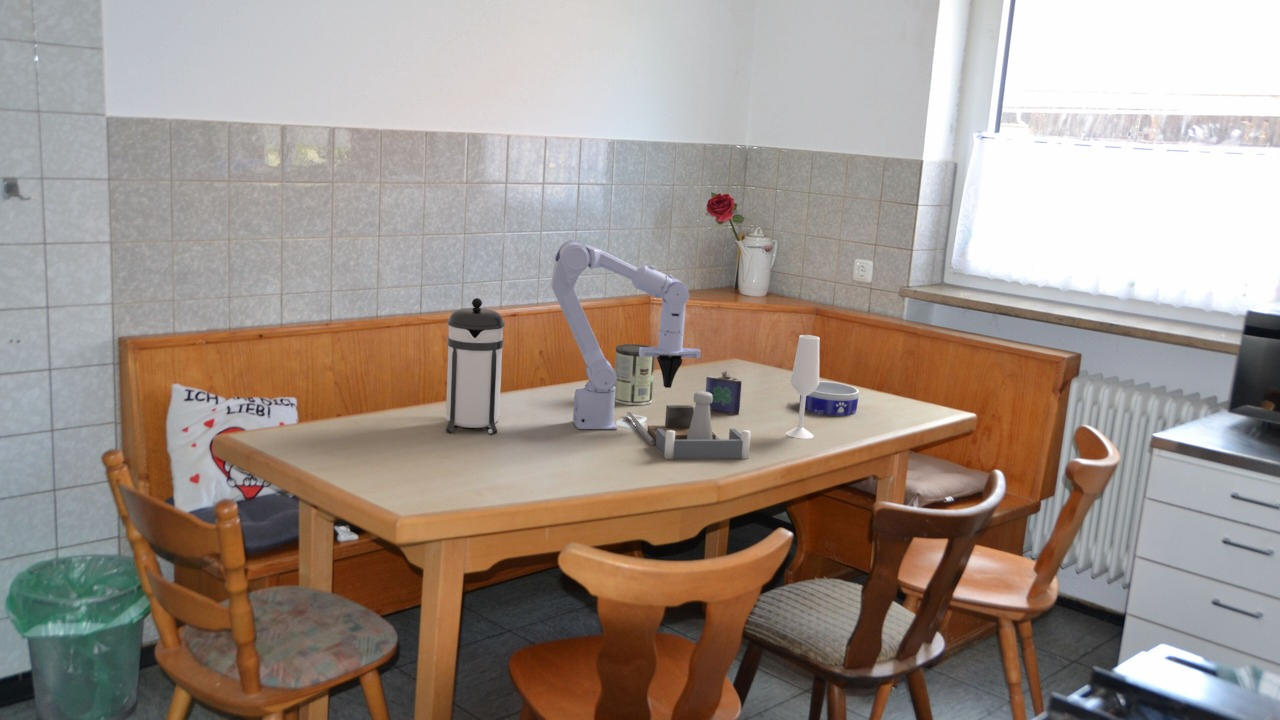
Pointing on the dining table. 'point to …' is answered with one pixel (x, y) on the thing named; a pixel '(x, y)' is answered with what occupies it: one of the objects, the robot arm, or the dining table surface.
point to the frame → (703, 446)
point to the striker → (676, 421)
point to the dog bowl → (832, 399)
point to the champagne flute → (805, 377)
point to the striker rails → (643, 431)
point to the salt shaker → (701, 417)
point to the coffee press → (474, 368)
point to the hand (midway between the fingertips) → (667, 386)
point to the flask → (724, 393)
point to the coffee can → (633, 375)
